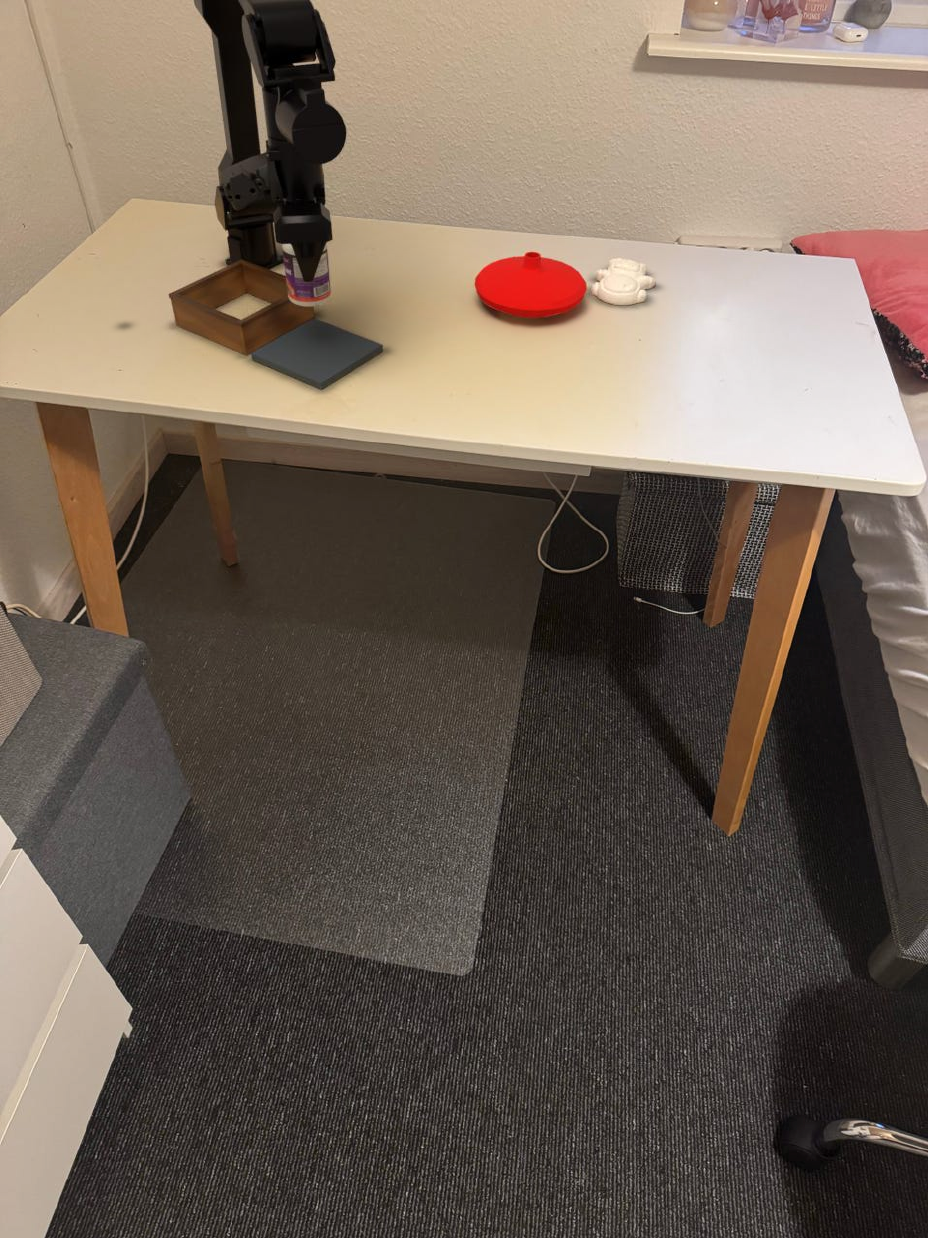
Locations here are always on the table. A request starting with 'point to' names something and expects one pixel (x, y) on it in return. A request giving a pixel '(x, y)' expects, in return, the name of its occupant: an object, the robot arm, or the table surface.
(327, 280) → the pill bottle
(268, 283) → the wooden square frame
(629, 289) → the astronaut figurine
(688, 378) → the table surface
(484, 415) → the table surface
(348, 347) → the mat
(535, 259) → the flat cone with hole
